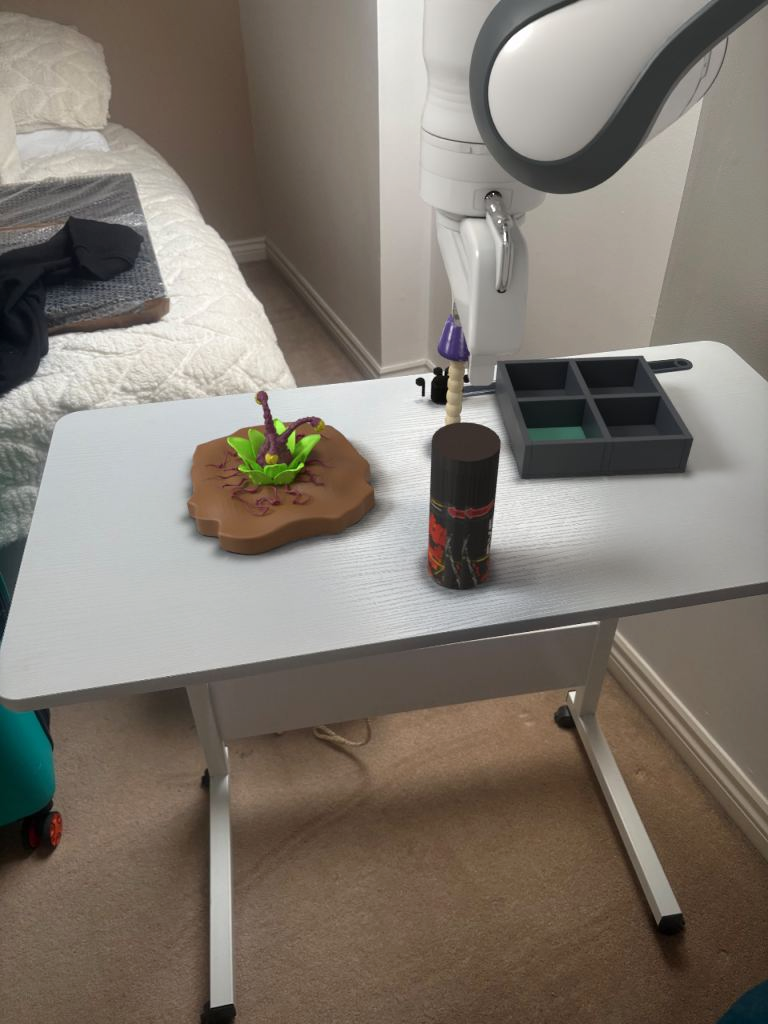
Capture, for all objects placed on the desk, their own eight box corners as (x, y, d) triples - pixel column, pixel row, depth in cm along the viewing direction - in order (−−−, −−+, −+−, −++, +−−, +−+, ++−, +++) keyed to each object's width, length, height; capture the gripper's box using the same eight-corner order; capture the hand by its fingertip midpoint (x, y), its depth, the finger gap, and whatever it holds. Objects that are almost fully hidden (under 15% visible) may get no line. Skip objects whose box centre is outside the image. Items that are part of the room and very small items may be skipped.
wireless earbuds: (469, 396, 105) (471, 361, 102) (472, 407, 103) (475, 371, 100) (414, 400, 105) (415, 365, 102) (417, 411, 103) (418, 375, 100)
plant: (338, 424, 101) (334, 341, 93) (395, 521, 86) (395, 432, 79) (172, 458, 95) (154, 372, 88) (204, 567, 81) (185, 476, 74)
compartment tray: (636, 387, 107) (643, 355, 104) (684, 472, 93) (693, 438, 90) (494, 392, 106) (497, 360, 103) (521, 479, 92) (525, 445, 89)
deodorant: (490, 590, 78) (504, 461, 69) (427, 589, 79) (432, 461, 69) (486, 548, 83) (497, 422, 74) (426, 547, 83) (430, 422, 74)
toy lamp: (446, 433, 99) (452, 303, 88) (480, 446, 97) (491, 314, 86) (425, 453, 96) (429, 320, 85) (460, 466, 94) (468, 332, 83)
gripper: (562, 225, 49) (536, 421, 58) (504, 128, 65) (490, 294, 74) (457, 227, 49) (446, 424, 58) (424, 129, 65) (419, 296, 73)
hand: (470, 350), depth 66 cm, fingers open, 8 cm apart
